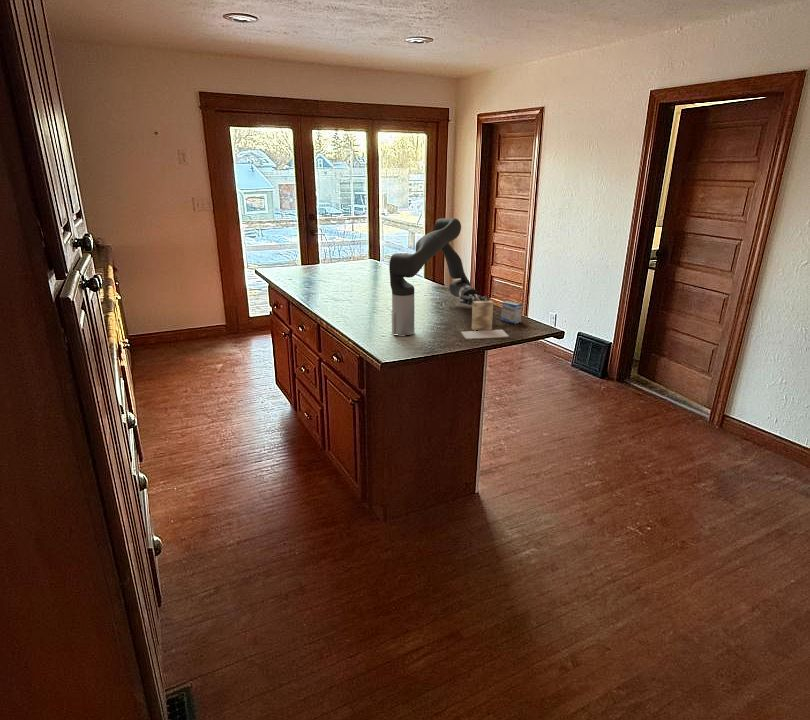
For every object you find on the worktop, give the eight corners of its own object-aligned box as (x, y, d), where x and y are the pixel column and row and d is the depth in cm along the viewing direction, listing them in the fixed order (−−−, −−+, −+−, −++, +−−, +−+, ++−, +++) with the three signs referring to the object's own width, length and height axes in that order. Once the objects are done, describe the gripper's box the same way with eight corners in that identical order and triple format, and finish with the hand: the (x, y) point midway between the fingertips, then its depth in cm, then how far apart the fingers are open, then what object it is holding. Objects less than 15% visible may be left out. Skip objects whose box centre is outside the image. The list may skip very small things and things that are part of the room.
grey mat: (466, 339, 210) (466, 338, 210) (460, 332, 218) (460, 331, 218) (508, 337, 212) (509, 336, 212) (502, 330, 221) (502, 329, 220)
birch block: (473, 330, 221) (474, 303, 216) (471, 328, 224) (472, 301, 220) (491, 329, 222) (493, 302, 217) (489, 327, 225) (490, 300, 221)
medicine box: (500, 320, 234) (501, 302, 231) (506, 318, 237) (507, 300, 234) (515, 324, 229) (516, 305, 226) (521, 322, 232) (522, 303, 228)
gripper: (454, 287, 238) (464, 296, 222) (482, 286, 240) (494, 295, 224) (454, 303, 241) (463, 313, 225) (481, 302, 243) (493, 311, 227)
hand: (478, 304), depth 225 cm, fingers closed
